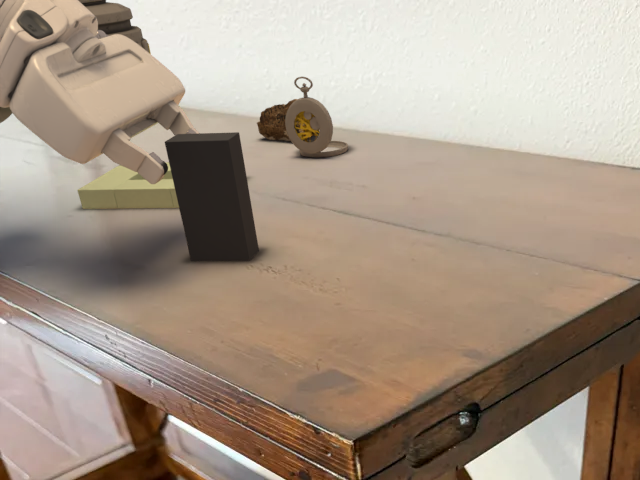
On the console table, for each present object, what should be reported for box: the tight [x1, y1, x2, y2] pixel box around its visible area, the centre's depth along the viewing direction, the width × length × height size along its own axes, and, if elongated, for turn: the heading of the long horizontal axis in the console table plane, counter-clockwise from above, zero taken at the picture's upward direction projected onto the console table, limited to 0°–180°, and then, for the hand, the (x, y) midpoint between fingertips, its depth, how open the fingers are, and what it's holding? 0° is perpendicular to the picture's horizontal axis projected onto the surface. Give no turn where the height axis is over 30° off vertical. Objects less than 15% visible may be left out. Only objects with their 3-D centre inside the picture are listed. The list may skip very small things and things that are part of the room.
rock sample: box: [256, 98, 317, 142], centre depth 118 cm, size 10×8×9 cm
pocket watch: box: [285, 76, 349, 158], centre depth 107 cm, size 8×8×10 cm
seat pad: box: [76, 161, 179, 210], centre depth 98 cm, size 16×12×2 cm
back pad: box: [164, 131, 260, 262], centre depth 76 cm, size 6×3×11 cm, turn 80°
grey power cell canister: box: [78, 0, 152, 55], centre depth 135 cm, size 19×19×30 cm
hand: (182, 162), depth 75 cm, fingers open, 8 cm apart
